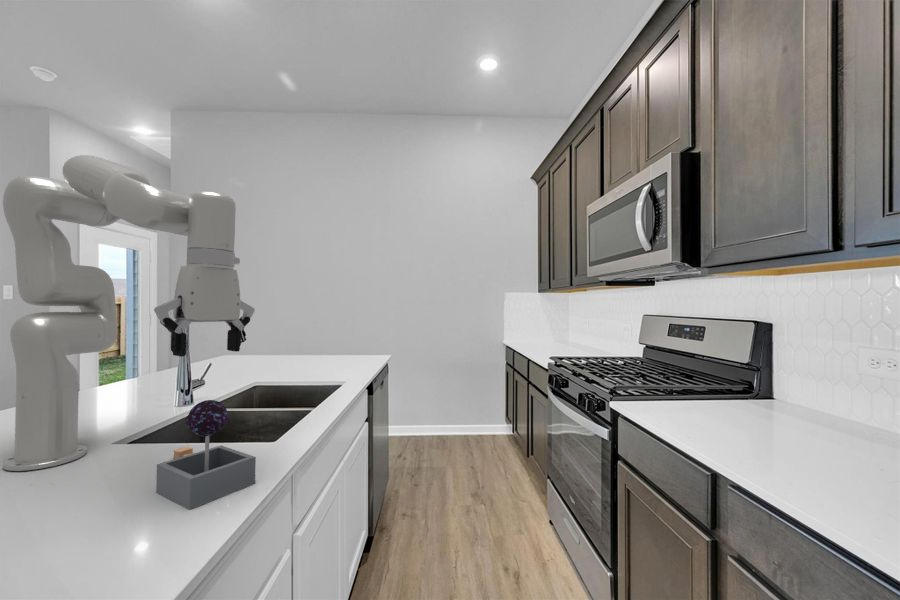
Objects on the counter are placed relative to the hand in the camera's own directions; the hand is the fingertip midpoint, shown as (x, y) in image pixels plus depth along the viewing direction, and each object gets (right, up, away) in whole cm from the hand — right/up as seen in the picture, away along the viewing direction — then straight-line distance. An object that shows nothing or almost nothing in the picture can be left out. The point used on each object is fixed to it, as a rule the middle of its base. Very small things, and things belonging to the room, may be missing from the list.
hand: (207, 353), depth 74 cm
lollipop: (0, -24, 0) cm, 24 cm away
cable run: (-10, -25, +9) cm, 28 cm away
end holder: (0, -25, 0) cm, 25 cm away
